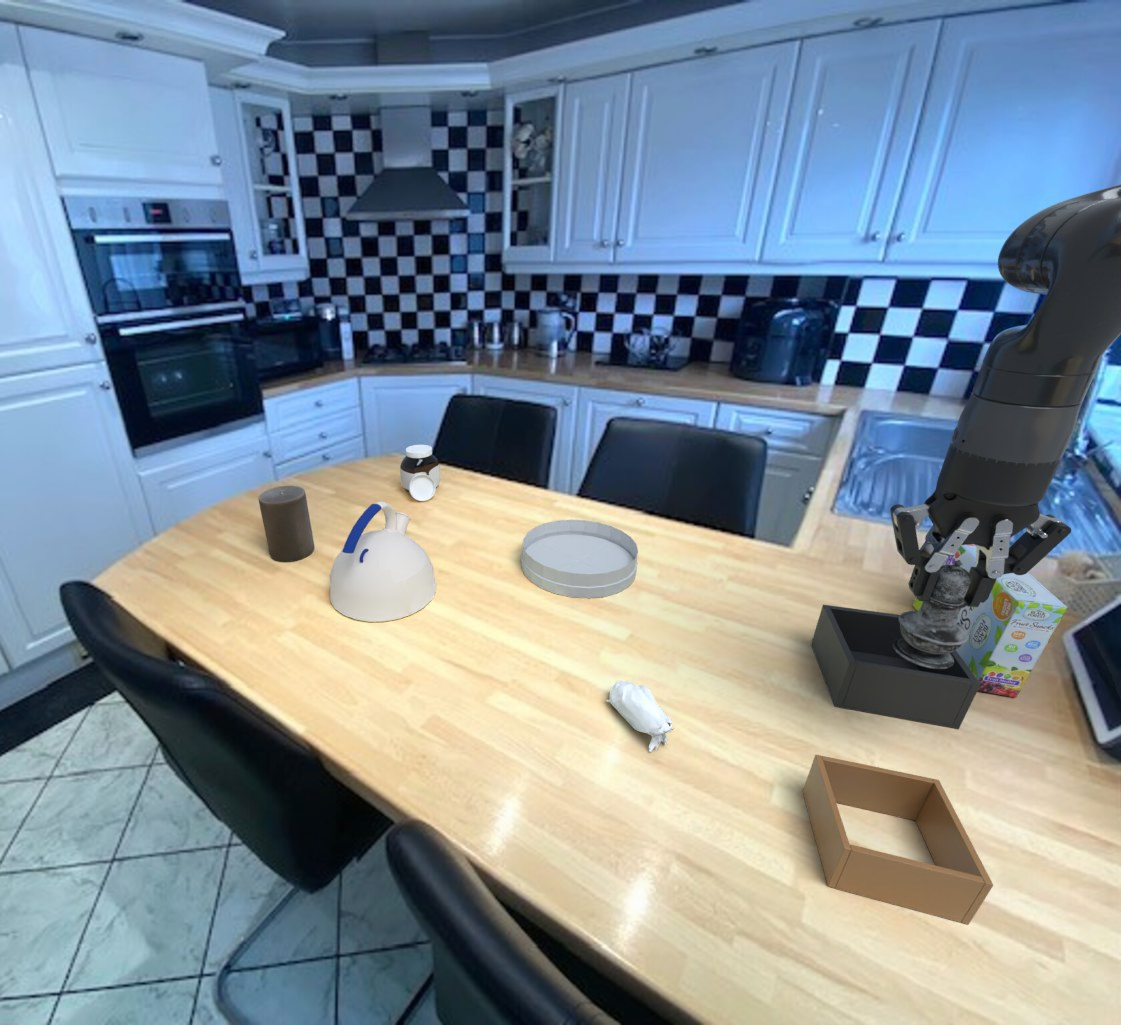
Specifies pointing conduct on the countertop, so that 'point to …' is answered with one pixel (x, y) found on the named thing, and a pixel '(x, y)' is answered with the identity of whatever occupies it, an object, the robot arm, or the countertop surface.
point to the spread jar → (420, 472)
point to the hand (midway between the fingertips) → (944, 599)
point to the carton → (886, 877)
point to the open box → (886, 670)
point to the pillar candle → (286, 523)
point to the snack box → (1005, 628)
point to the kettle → (381, 571)
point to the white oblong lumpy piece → (641, 711)
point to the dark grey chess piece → (936, 622)
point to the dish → (579, 558)
